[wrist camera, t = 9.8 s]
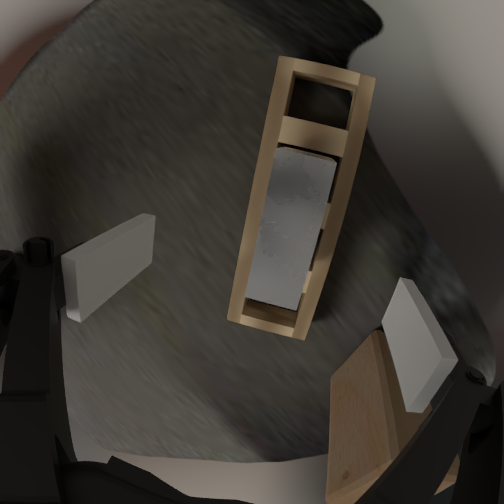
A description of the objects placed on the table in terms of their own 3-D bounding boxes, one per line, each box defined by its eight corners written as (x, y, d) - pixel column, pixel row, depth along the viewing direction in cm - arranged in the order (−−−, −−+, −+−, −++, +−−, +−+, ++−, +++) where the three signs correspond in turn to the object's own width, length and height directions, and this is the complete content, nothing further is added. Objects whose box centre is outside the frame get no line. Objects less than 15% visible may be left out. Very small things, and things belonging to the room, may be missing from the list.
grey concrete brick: (268, 245, 34) (244, 296, 23) (290, 146, 30) (275, 148, 19) (304, 254, 34) (296, 310, 23) (328, 155, 30) (336, 162, 19)
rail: (234, 304, 38) (226, 319, 35) (283, 64, 27) (279, 55, 24) (306, 323, 37) (304, 340, 34) (369, 84, 26) (376, 78, 23)
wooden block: (327, 375, 39) (320, 507, 21) (374, 323, 35) (401, 463, 17) (381, 400, 39) (392, 519, 21) (428, 354, 35) (467, 478, 17)
